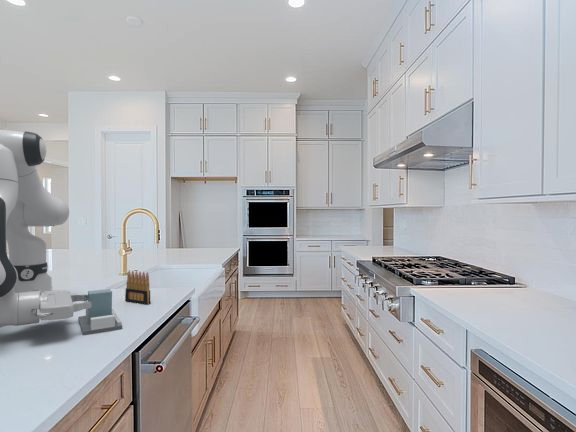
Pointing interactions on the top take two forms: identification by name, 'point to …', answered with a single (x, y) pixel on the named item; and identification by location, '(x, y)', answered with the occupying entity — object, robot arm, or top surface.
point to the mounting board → (87, 327)
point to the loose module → (100, 303)
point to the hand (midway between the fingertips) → (89, 300)
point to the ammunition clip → (137, 288)
